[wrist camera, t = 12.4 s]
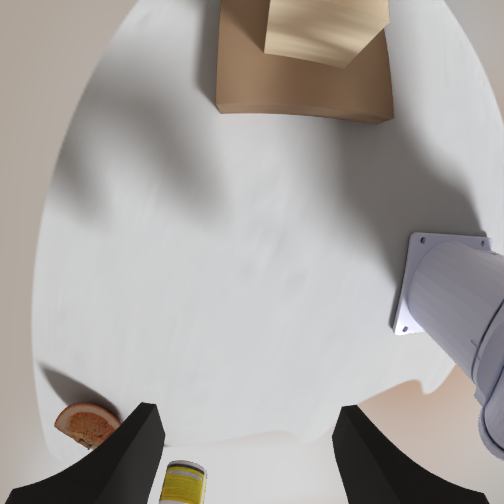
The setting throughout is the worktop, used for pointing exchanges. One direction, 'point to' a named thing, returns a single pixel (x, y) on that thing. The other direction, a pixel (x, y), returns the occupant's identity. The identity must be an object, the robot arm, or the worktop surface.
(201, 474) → the supplement bottle
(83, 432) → the fruit slice
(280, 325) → the worktop surface
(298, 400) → the worktop surface
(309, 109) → the walnut block
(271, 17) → the birch block
